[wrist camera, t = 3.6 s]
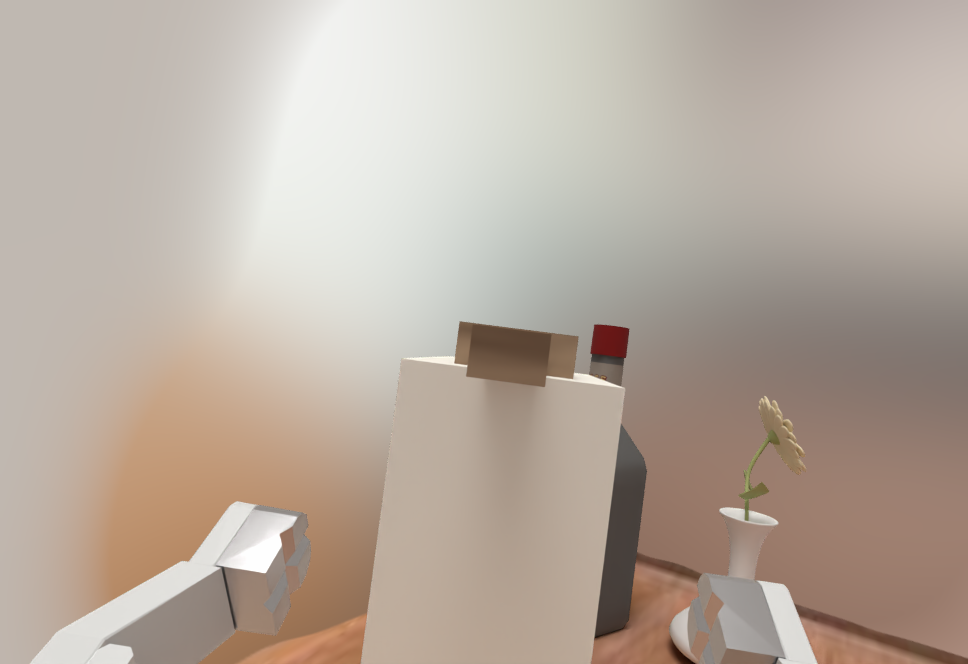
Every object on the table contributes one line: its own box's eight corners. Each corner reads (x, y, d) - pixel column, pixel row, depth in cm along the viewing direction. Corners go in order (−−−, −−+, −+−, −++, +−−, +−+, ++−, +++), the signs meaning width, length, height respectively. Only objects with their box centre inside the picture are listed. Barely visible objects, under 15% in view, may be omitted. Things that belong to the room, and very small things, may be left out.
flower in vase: (793, 722, 45) (830, 407, 46) (651, 662, 52) (684, 386, 52) (807, 659, 56) (836, 405, 57) (687, 616, 63) (715, 388, 63)
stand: (565, 872, 30) (625, 388, 30) (338, 826, 31) (401, 358, 31) (551, 675, 48) (588, 374, 48) (408, 651, 48) (447, 356, 49)
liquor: (578, 645, 53) (619, 323, 54) (513, 603, 60) (550, 319, 61) (638, 626, 59) (674, 334, 60) (572, 589, 66) (605, 329, 67)
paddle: (598, 394, 21) (606, 327, 21) (414, 369, 22) (422, 304, 22) (564, 374, 41) (568, 339, 41) (468, 361, 42) (472, 327, 42)
